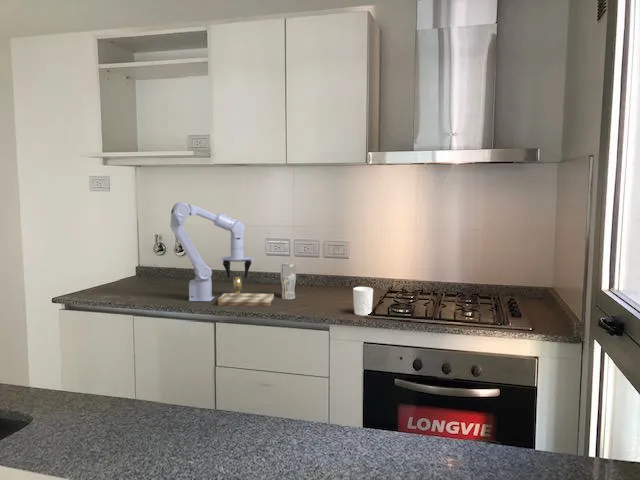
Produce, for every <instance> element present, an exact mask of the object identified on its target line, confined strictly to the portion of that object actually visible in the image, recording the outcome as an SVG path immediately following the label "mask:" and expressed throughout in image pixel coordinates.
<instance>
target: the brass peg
mask: <svg viewBox="0 0 640 480" xmlns="http://www.w3.org/2000/svg"><path fill="white" fill-rule="evenodd" d="M232 278H233V291H234V293H241V291H242V290H243V289H242V287H243V285H242V284H243V283H242V276H235V277H232Z"/></svg>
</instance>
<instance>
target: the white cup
mask: <svg viewBox="0 0 640 480" xmlns="http://www.w3.org/2000/svg"><path fill="white" fill-rule="evenodd" d="M352 291H353V292H352V295H353V296H352V297H353V298H352V299H353V311H354V312H353V313H354V315H356V316H365V317H366V316H369V315H368V314H370V313H371V312H372V311H373V299H374V296H373V295H374V288H372V287H368V286H356V287H353V289H352ZM372 313H373V312H372Z"/></svg>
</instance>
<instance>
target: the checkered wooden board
mask: <svg viewBox="0 0 640 480" xmlns="http://www.w3.org/2000/svg"><path fill="white" fill-rule="evenodd" d="M274 301H275V295H274V293H245V292H244V293H243V292H242V293H241V292H240V293H235V292H234V293H233V292H232V293H231V292H229V293H227V292H225V293H224V292H223V294H221V295H220V297H219V298H217V305H218V306H220V307H221V306H230V307H236V306H237V307H239V306H240V307H271V306H272V302H274Z"/></svg>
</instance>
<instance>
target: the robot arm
mask: <svg viewBox="0 0 640 480" xmlns="http://www.w3.org/2000/svg"><path fill="white" fill-rule="evenodd" d="M189 216H191V217H192V216H199V217H201V218H203V219H206V220H209V221H211V222H212V223H213V225H214V226H216V227H218V228H221V229H223V230H225V231H228V232H229V231H230V232H229V233H230V256H221V257H220V263H222V265H223V267H224V269H225V272H226V274H227V275H226V276H227V278H228V279H230V278H231V262H233V263H238V262H240V263H241V262H242V263H243V262H244V279H247V278H248V276H249V275H248V274H249V270H250V267H251V265H252V263H254V261H255V259H254V257H253V256H245V253H244V250H245V249H244V245H245V244H244V233H245V229H246V227H245V224H244V223H243V222H242V221H239V220H237V219H236V218H234V217H229V216H227V215H226V213H223V212H222V213H220V212H219V213H217V214H214V213H212V212H211V211H209V210H206V209H203V208H201V207H199V206H196V205H194V204H193V205H192V204H188V203H185V202H181V201H178V202H176V203H175V204H174V205H173V206H172V209H171V211H170V228H171V230H172V233H174V235H175V237H176V239H177V241H178V242H179V244H180V246H181V247H182V249H183V251H184V252H185V255H186V256H187V258H188V259H189V261H190V263H191V265H192V267H193V269H194V271H193V272H194V274H195V277H194V279H190V280H189V283H188V297H189V298H188V302H212V301H213V300H214V299H215V296H213V292H212V290H213V287H212V284H213V283H212V282H213V281H212V274H213V271H212V269H211V267H210V266H208V265H207V263H205V261H204V260H203V259H202V257H201V255H200V253H199V251H198V250H197V249H196V247H195V244H194V243H193V242H192V240H191V239H190V236H189V235H188V233H187V231H186V229H185V228H184V225H185V223H186V222H185V221H186V219H187V218H188V217H189Z"/></svg>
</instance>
